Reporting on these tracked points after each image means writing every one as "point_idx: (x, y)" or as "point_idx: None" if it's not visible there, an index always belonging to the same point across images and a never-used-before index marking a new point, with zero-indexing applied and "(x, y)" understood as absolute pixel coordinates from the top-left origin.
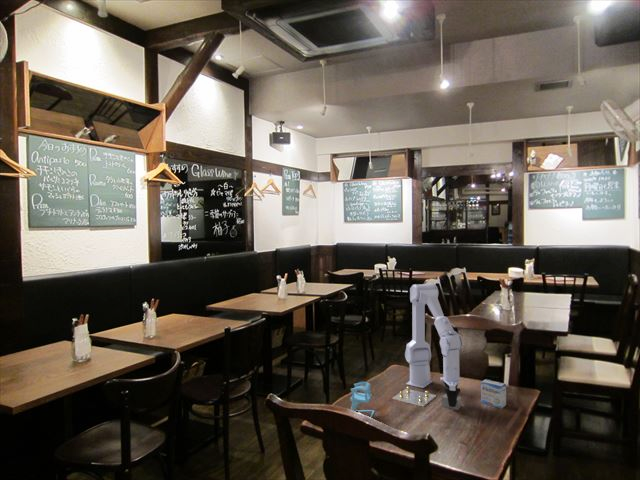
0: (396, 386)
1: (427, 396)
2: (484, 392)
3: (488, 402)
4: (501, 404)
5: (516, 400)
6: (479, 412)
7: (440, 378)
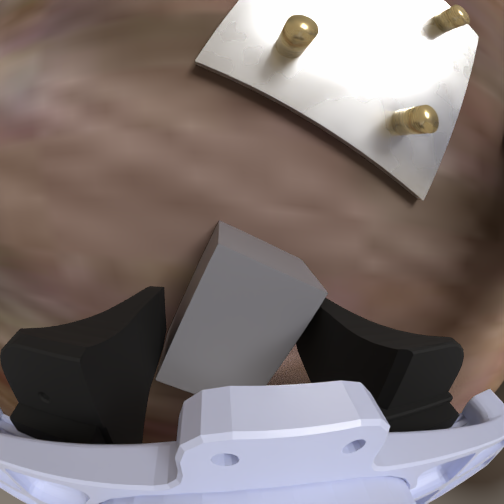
0: (491, 17)
1: (393, 122)
2: None
3: None
4: None
5: None
6: (166, 422)
7: (225, 439)
